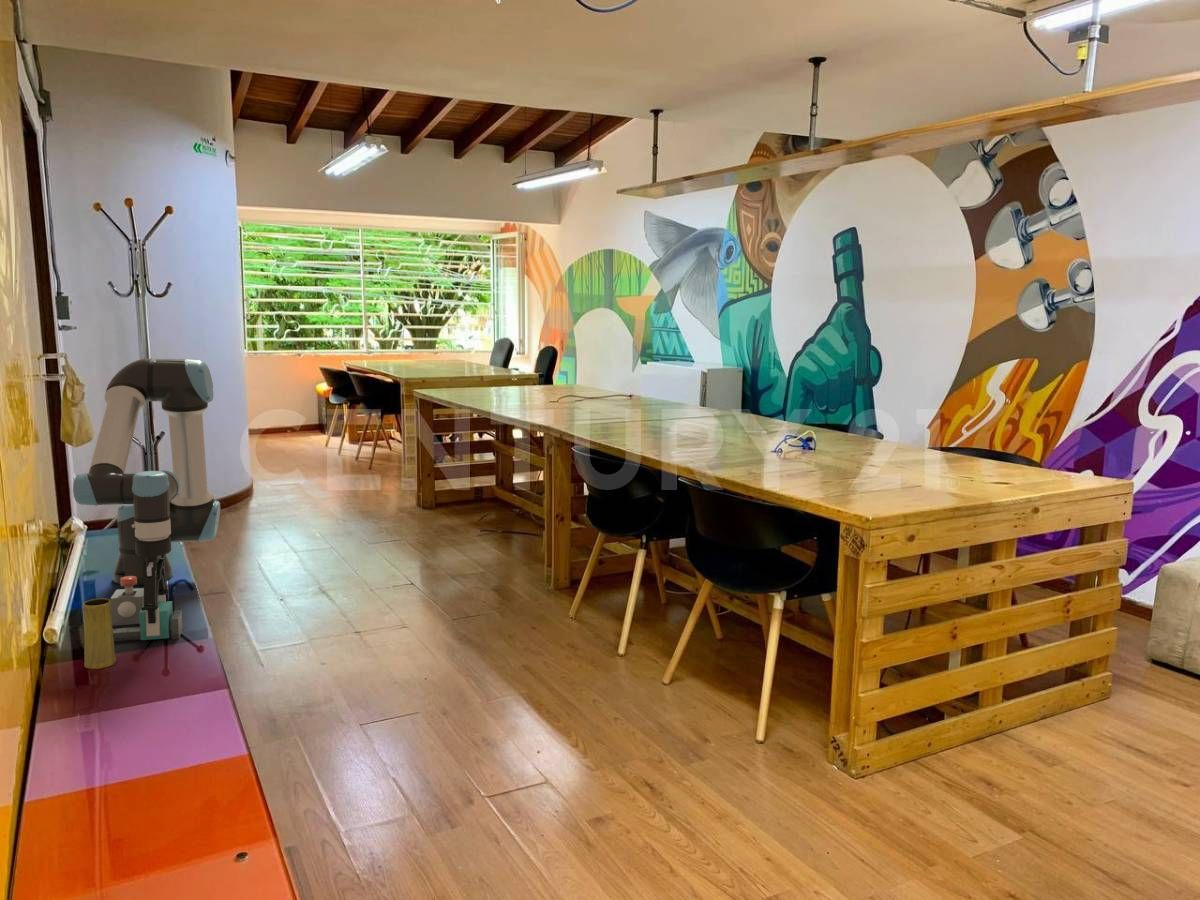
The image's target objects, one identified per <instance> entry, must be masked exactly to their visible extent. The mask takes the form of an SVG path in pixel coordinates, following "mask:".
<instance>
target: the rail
mask: <svg viewBox="0 0 1200 900" xmlns="http://www.w3.org/2000/svg"><path fill="white" fill-rule="evenodd" d="M182 611H183V610H182V609H179V610H174V611H173V615H172V617H171V626H170V637H169V638H171V640H178V639H180V637H181V634H182V632H183V613H182ZM113 638H114V642H121V641H135V640H137V641H138V640H141V633H140V626H136V627H121V628H113Z"/></svg>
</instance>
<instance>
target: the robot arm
mask: <svg viewBox="0 0 1200 900" xmlns="http://www.w3.org/2000/svg"><path fill="white" fill-rule="evenodd" d="M213 399H214V383H213V378H212V374H211V370H210V369H209V366H208V365H207V363H205V362H204V361H203V360H199V359H198V360H197V359H191V358H190V359H189V358H187V359H186V358H141V359H138V360H134V361H132V362H130V363H129V364H127V365H125V366H124V367H122V368H121V369H120V370H119V371H117V372H116V373H115V375H114V376H113V377H112V378H111V379H110V381H109V383H108V385H107V387H106V390H105V394H104V401H105V403H106V406H105V410H104V415H103V418H102V421H101V426H100V429H99V433H98V435H97V436H98V437H97V440H96V443H95V448H94V451H93V455H92V457H91V458H92V459H91V462H90V466H89V470H88V473H81V474H78V475H76V476H75V478H74V480H73V484H72V485H73V486H72V493H73V498H74V501H75V502H76V503H77V504H78V505H83V506H98V505H99V506H103V505H104V506H107V505H109V506H110V505H119V506H118V507H117V517H116V523H117V536H118V538H117V539H118V557H117V560H116V564H115V566H114V569H113V573H112V574H113V575H112V576H113V578H112V579H113V582H114V583H115V584H118V585H121V582H120V578H122V577H126V576H136V577H137V584H136V585H135V586H143V588H144V607H143V608H142V611H143V610H146V632H147V636H157V635H160V621H159V608H158V602H166V601H167V598H166V595H168V594H169V593H170V591H169V590H170V589H167V588H168V585H167V580H169V579H171V578H172V576H173V566H172V564H171V561H170V559H169V556H168V554H169V553H171V551H172V543H183V542H184V543H186V542H189V543H190V542H192V543H193V542H197V543H199V542H205V541H206V542H207V541H208V542H209V541H211V540H213V539H215V538H216V536H217V533H218V528H219V524H220V517H221V516H220V515H221V502H220V501H219V500H215V498H214V494H213V492H211V491H209V490H208V480H207V464H206V450H205V449H206V448H205V447H206V446H205V435H204V431H205V430H204V421H203V418H204V417H203V416H204V415H203V412H205V411H206V410H207V409H208V407H209V405H208V403H210V402H213ZM146 402H160V403H161V409H162V411H164V412H165V413H166V414H167V416H168V425H169V426H168V427H169V435H170V436H169V437H170V451H171V464H172V471H170V470H146V471H145V470H144V471H141V472H136V473H125V471H126V468H127V464H128V459H129V454H130V452H131V451H130V450H131V447H132V442H133V438H134V433H135V429H136V425H137V421H138V416H139V414H140V413H139V412H140V411H141V410H142V409H144V407H145V406H146ZM148 604H151V605H148Z"/></svg>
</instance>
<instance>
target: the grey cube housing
mask: <svg viewBox="0 0 1200 900" xmlns="http://www.w3.org/2000/svg"><path fill="white" fill-rule="evenodd" d="M110 601H111V617H112V627H115V626H128V625H138V624H139V625H140V619H139V612H140V610H141V609H142V607H143V605H144V587H138V588H137V587H135V588H133V595H125V588H123V589H122V588H121V589H116V590H115V591H114V592H113V594H112V595H111V597H110Z"/></svg>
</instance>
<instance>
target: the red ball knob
mask: <svg viewBox="0 0 1200 900" xmlns="http://www.w3.org/2000/svg"><path fill="white" fill-rule="evenodd" d="M120 582H121V584H120V587H124V589H125V595H133V589H134V586H137V585H136V584H137V577H136V576H126V577H122V578H120Z"/></svg>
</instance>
